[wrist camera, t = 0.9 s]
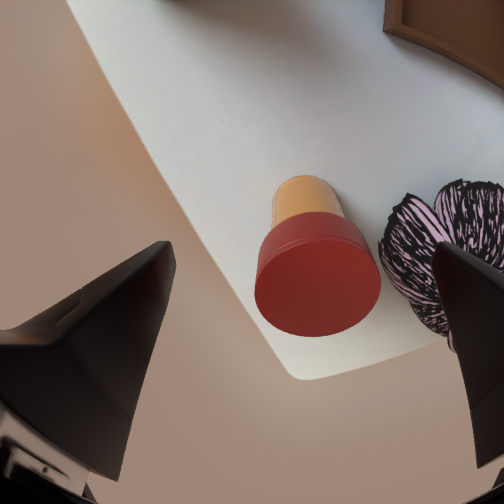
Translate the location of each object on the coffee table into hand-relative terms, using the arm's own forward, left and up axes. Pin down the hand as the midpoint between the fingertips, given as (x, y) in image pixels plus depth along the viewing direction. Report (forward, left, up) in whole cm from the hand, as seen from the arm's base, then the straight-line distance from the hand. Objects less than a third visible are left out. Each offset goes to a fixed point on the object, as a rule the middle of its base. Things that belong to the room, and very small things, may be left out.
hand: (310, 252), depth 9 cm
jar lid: (-2, +4, -3) cm, 5 cm away
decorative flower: (-15, +5, -13) cm, 20 cm away
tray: (-12, -16, -13) cm, 24 cm away
